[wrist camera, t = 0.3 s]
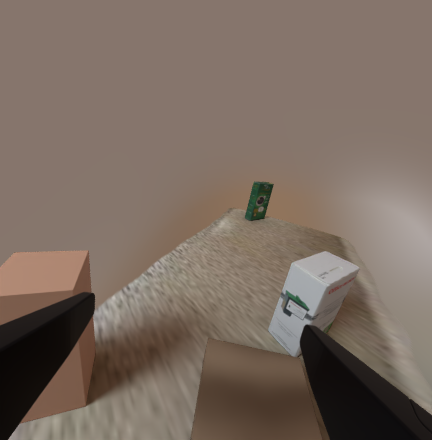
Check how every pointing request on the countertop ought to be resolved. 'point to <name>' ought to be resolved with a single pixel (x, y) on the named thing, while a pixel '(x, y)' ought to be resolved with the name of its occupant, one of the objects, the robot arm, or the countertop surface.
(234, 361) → the walnut block
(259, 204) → the coffee box
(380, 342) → the countertop surface
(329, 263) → the ink box
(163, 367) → the countertop surface
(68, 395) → the column
